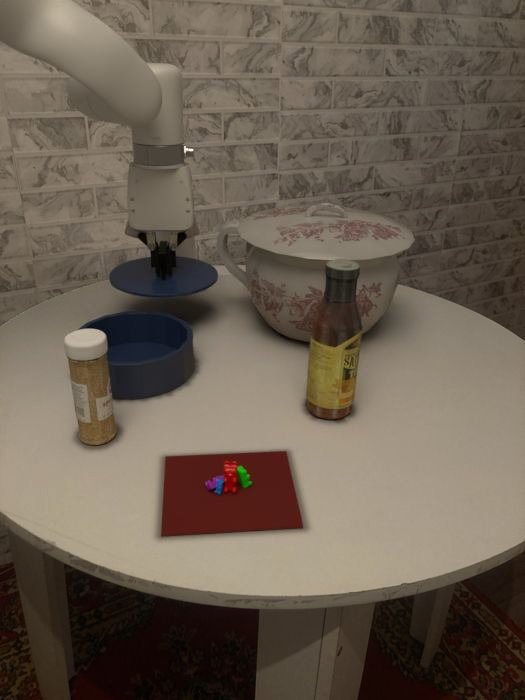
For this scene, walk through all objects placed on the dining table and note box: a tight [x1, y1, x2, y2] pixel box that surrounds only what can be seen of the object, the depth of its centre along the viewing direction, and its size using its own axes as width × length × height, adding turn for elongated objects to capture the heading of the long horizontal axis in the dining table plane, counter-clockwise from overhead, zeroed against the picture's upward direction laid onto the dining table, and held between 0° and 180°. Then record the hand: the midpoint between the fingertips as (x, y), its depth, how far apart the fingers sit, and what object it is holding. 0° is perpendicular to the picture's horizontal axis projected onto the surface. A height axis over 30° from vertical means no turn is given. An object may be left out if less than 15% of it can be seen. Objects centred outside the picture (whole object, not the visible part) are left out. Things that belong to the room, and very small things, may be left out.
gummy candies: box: [205, 461, 252, 495], centre depth 63 cm, size 5×3×4 cm, turn 88°
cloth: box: [160, 450, 304, 537], centre depth 64 cm, size 14×12×1 cm
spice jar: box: [63, 329, 118, 446], centre depth 69 cm, size 5×5×14 cm
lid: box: [108, 241, 219, 299], centre depth 97 cm, size 18×18×6 cm
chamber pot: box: [215, 202, 416, 343], centre depth 96 cm, size 28×28×21 cm
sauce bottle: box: [305, 259, 363, 420], centre depth 74 cm, size 6×6×20 cm
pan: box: [77, 310, 195, 400], centre depth 85 cm, size 17×17×5 cm
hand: (164, 270), depth 97 cm, fingers closed on lid, 1 cm apart
